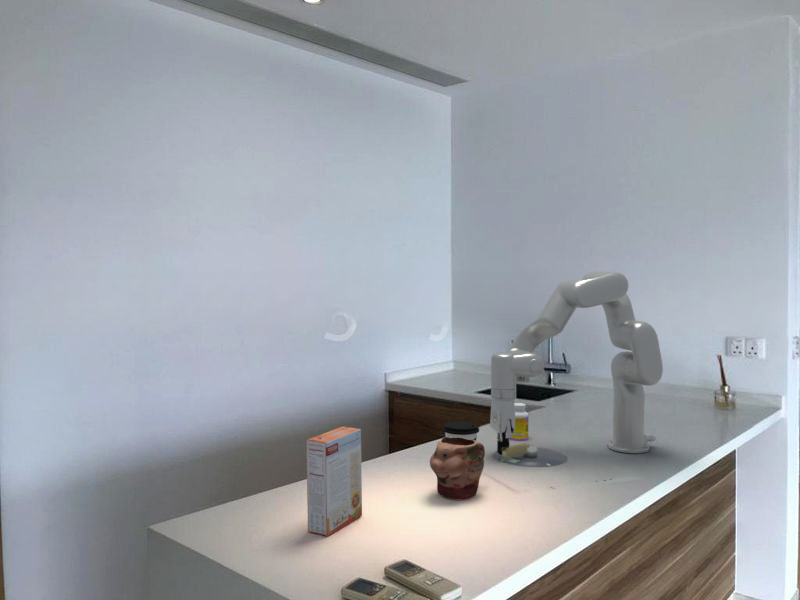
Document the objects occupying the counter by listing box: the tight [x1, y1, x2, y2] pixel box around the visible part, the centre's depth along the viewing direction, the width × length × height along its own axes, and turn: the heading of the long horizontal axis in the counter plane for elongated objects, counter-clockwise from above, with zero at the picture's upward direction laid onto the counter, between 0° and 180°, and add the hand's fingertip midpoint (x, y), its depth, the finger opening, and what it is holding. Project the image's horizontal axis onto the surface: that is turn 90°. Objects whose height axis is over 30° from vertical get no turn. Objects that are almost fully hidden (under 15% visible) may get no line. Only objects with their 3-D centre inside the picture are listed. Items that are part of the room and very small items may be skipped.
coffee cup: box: [442, 420, 480, 441], centre depth 194 cm, size 11×11×12 cm
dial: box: [493, 447, 568, 468], centre depth 199 cm, size 22×22×1 cm
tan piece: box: [501, 443, 539, 457], centre depth 197 cm, size 13×4×4 cm, turn 120°
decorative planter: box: [429, 436, 486, 501], centre depth 169 cm, size 20×12×14 cm, turn 141°
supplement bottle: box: [510, 402, 529, 442], centre depth 220 cm, size 7×7×13 cm
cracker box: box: [305, 426, 363, 537], centre depth 148 cm, size 14×6×21 cm, turn 150°
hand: (503, 453), depth 198 cm, fingers closed
